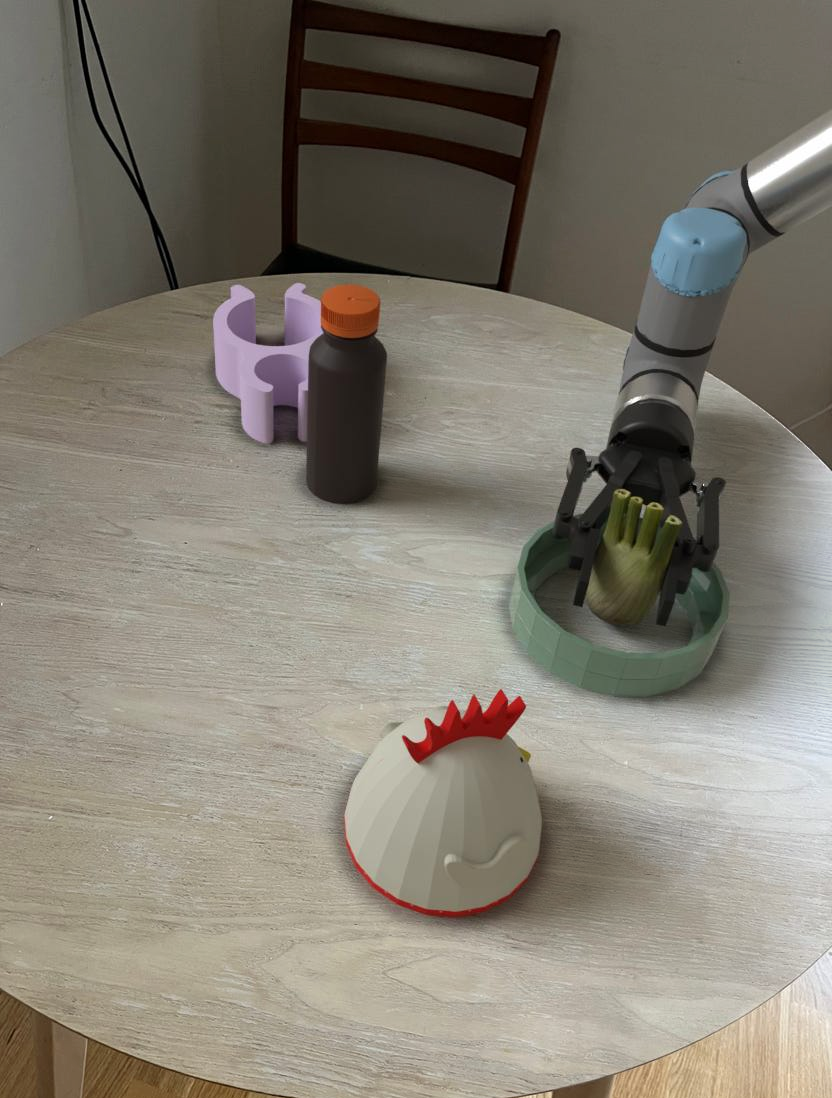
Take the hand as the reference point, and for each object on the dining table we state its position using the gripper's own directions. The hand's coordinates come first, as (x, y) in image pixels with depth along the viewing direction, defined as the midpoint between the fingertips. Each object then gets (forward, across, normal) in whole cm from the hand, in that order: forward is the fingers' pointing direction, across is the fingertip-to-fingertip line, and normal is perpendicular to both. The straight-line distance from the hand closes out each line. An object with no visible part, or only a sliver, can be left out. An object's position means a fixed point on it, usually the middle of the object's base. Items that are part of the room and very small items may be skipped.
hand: (622, 603), depth 83 cm
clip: (-28, +38, -8) cm, 48 cm away
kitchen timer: (+20, +9, -8) cm, 23 cm away
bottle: (-15, +27, -8) cm, 32 cm away
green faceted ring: (-5, 0, -8) cm, 9 cm away
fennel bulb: (-5, 0, -6) cm, 8 cm away
